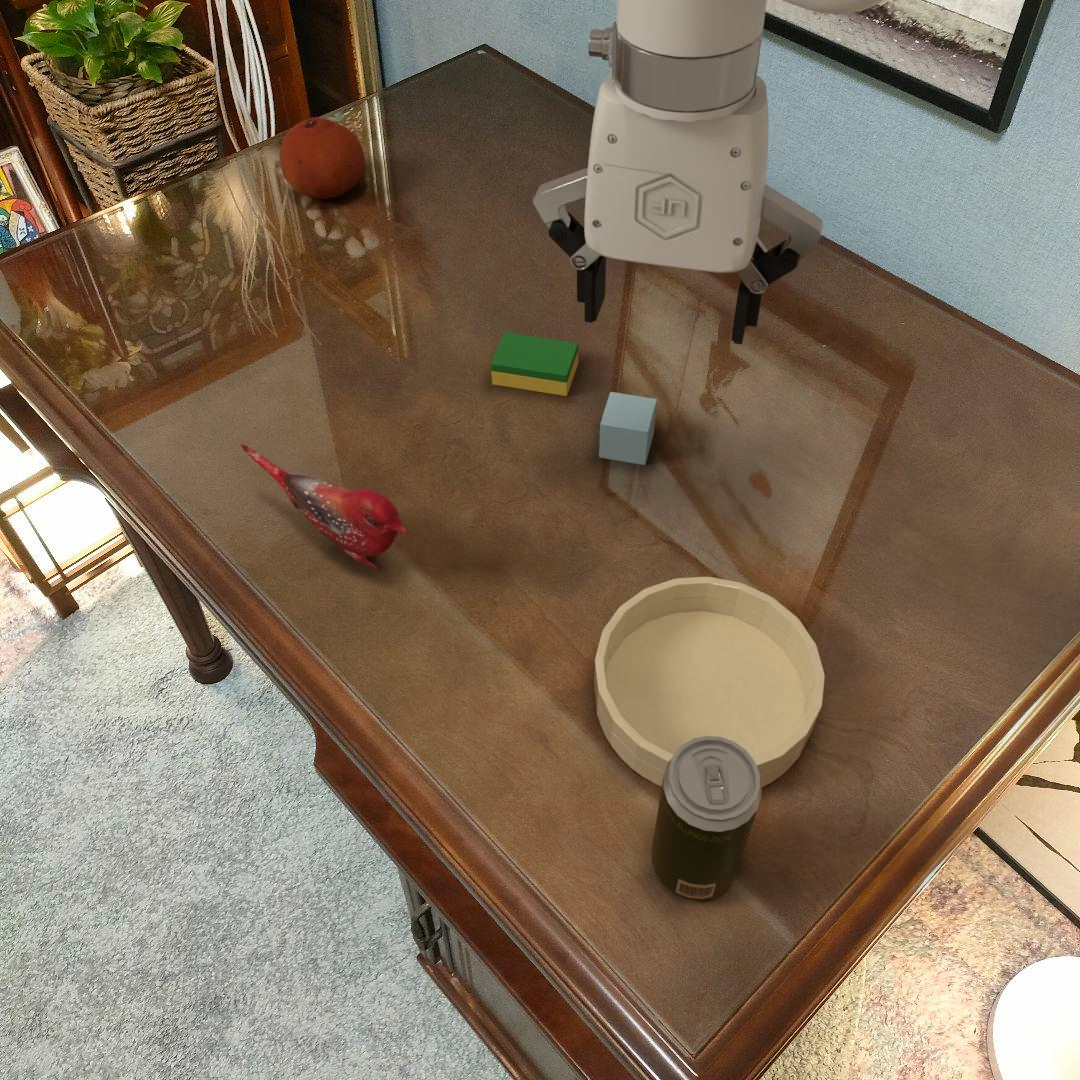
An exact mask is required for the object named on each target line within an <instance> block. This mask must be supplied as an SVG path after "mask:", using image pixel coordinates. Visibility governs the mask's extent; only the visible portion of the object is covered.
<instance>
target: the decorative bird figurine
mask: <svg viewBox="0 0 1080 1080" xmlns="http://www.w3.org/2000/svg"><path fill="white" fill-rule="evenodd" d="M240 447H241V448H242V450H243V451H244V452H245V453H246V454H247V455H248V456H249V457H251V459H252V460H254V461H255V463H256V464H258V465H259V467H261V468H262V469H263V470H264V471H265V472H266V473H268V474H269V475H270V476H271V477H272V478H273V479H274V480H275V481H276V482H277V483H278V484H279V486H280V487H281V488H282V489H283V491H284V493H285V494H286V495H287V497H288V499H289V500H290V502H291V503H292V505H293V506H294V508H295V509H296V510H297V511H298V512H299V513H300V514H301V515H302V516H304V518H305V519H306V520H307V521H308V522H309V523H310V524H311V525H312V526H313V527H314V528H315V529H316V530H317V531H318V532H319V533H320V534H321V535H322V536H323V537H324V538H326V539H327V540H328V541H330V542H332V543H333V544H335V545H336V546H338V548H340V549H341V550H343V552H345V553H346V555H349V556H350V557H352V558H353V559H354V560H356V561H357V562H359V563H361V564H365V565H368V566H369V567H371V568H374V569H376V570H377V571H381V569H380V568H379V567H378V566H377V565H375V564H374V563H372V562H371V561H369V560H368V558H367V557H374V556H375V557H376V556H379V555H381V554H384V553H385V552H386V551H387V550H389V549H390V548H391V547H392V545H393V544H394V541H395V539H396V538H397V535H398V533H402V534H406V535H408V532H407V530H406V528H405V526H404V524H403V522H402V521H401V518H400V514H399V512H398V509H397V507H395V505H394V503H393V502H392V501H391V500H390V499H389V498H388V497H387V496H385V495H384V494H382V493H381V492H378V491H375V490H372V489H367V488H363V489H362V488H360V489H357V490H352V489H348V488H345V487H342V486H340V485H337V484H335V483H332V482H329V481H326V480H323V479H319V478H316V477H310V476H307V475H301V474H292V473H288V472H286V471H285V470H284V469H282V468H280V466H279V467H278V466H277V465H276V464H275V463H273V462H272V461H271V460H268V458H266V457H264V456H263V455H261V454H260V453H259V452H257V451H255V450H254V449H253V448H251V447H250V446H247V445H245V444H240Z"/></svg>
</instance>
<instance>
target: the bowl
mask: <svg viewBox="0 0 1080 1080" xmlns="http://www.w3.org/2000/svg"><path fill="white" fill-rule="evenodd" d="M593 673H594V674H593V675H594V676H593V690H594V702H595V711H596V715H597V718H598V721H599V725H600V727H601V730H602V732H603V734H604V736H605V737H606V738H605V739H606V740H607V741H608V743H609V745H610V746H611V748H612V749H613V750H614V752H615V753H616V754H617V755H618V757H619V758H620V759H621V760H622V761H623V762H624V764H626V765H627V766H628V767H629V768H631V770H633V771H634V772H636V773H637V774H639V775H640V776H641V777H643V778H644V779H646V780H647V781H649V782H651V783H653V784H654V785H656V786H659V787H661V788H662V781H663V775H664V772H665V769H666V767H667V764H668V762H669V760H670V759H671V758H672V757H673V756H674V754H675V753H676V752H677V751H678V749H679V748H680V747H681V746H682V745H683V744H685V743H687V742H689V741H690V740H692V739H694V738H699V737H704V736H716V737H723V738H725V739H728V740H731V741H734V742H735V743H737V744H738V745H740V746H741V747H742V748H744V749H745V750H746V751H747V752H748V753H749V754H750V756H751V757H752V758H753V760H754V761H755V763H756V766H757V768H758V771H759V773H760V780H761V789H762V788H763V787H765V786H767V785H770V784H771V783H773V782H774V781H776V780H778V779H779V778H780V777H781V776H783V775H784V774H785V773H787V771H788V770H789V769H790V768H791V767H792V766H793V765H794V764H795V762H797V760H798V759H799V758H800V756H801V754H802V753H803V751H804V749H805V747H806V745H807V743H808V740H809V739H810V737H811V735H812V733H813V730H814V727H815V725H816V723H817V720H818V718H819V716H820V712H821V710H822V707H823V701H824V690H825V680H826V678H825V677H826V675H825V671H824V667H823V663H822V660H821V657H820V652H819V650H818V646H817V643H816V642H815V641H814V639H813V638H812V637H811V635H810V633H809V632H808V630H807V629H806V628H805V626H804V624H803V623H802V622H801V620H800V618H798V616H796V615H795V614H794V613H793V612H792V611H790V610H789V609H787V608H786V607H785V606H784V605H783V604H781V603H780V601H778V600H777V599H776V598H774V597H773V596H772V595H769V594H767V593H765V592H762V591H761V590H758V589H757V588H754V587H752V586H750V585H748V584H745V583H744V582H740V581H734V580H729V579H723V578H719V577H713V576H693V577H692V576H691V577H678V578H672V579H670V580H666V581H664V582H660V583H658V584H654V585H652V586H649V587H646V588H644V589H642V590H641V591H639V592H638V593H636V594H635V595H634V596H633V597H631V598H629V600H627V601H626V602H624V603H623V604H622V605H620V606H618V607H617V610H616V611H615V613H614V614H613V615H612V617H610V619H609V620H608V622H607V624H605V627H604V628H603V629H602V631H601V635H600V639H599V642H598V646H597V650H596V654H595V657H594V672H593Z"/></svg>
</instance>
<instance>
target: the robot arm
mask: <svg viewBox="0 0 1080 1080" xmlns="http://www.w3.org/2000/svg"><path fill="white" fill-rule="evenodd" d="M782 1H783V2H785V3H788V4H791V5H792V6H795V7H798V8H801V9H804V10H807V11H811V12H816V13H820V14H827V15H848V14H853V13H857V12H862V11H865V10H868V9H870V8H872V7H874V6H876V5H878V4H880V3H882V2H884V0H782ZM767 3H768V0H616V15H615V17H616V20H615V21H613V24H612V26H611V27H610V26H609V27H608V26H606V27H605V28H604V29H601V28H599V29H598V28H592V29H591V30H590V33H589V38H588V56H589V57H595V58H601V59H602V61H607V62H608V66H609V68H611V71H610V72H608V74H607V75H606V77H605V79H604V80H603V81H602V83H600V86H599V90H598V94H597V98H596V103H595V108H594V113H593V119H592V125H591V134H590V142H589V149H588V150H589V151H588V162H587V167H584V168H583V169H580V170H576V171H574V172H571V173H569V174H566V175H564V176H561V177H558V178H556V179H552V180H550V181H547V182H545V183H542V184H540V185H539V186H538V187H537V189H536V191H535V194H533V195H534V196H533V197H532V205H533V206H534V208H535V210H536V212H537V213H538V216H539V217H540V219H541V220H542V223H543V224H544V225H545V226H546V227H547V229H548V231H547V232H548V236H549V238H550V239H551V240H552V241H553V242H554V243H555V244H556V245H557V246H558V247H559V248H560V249H561V250H562V251H563V252H564V253H565V254H566V255H567V256H568V257H569V258H570V259H569V263H570V266H571V267H572V268H573V269H575V270H576V302H578V303H584V322H585V323H590V324H593V323H594V322H597V319H598V317H599V315H600V311H601V309H602V306H603V304H604V301H605V299H606V286H607V285H606V280H607V279H606V277H607V259H612V260H617V261H624V262H631V263H637V264H645V265H653V266H660V267H666V268H667V267H668V268H674V269H681V270H689V271H698V272H706V273H707V272H708V273H717V274H731V273H735V274H736V275H737V277H738V278H739V279H740V283H739V287H738V291H737V297H736V303H735V310H734V317H733V324H732V332H731V338H730V341H732V342H733V344H736V345H743V341H744V337H745V332H746V328H747V327H752V328H753V327H754V328H757V326H758V322H759V316H760V311H761V304H762V299H763V294H764V293H765V292H766V291H767V290H768V287H769V285H771V284H772V283H775V282H776V281H778V280H780V278H783V277H784V276H786V275H788V274H789V273H791V272H793V271H794V270H795V269H797V268H798V264H799V263H800V261H801V260H802V259H803V258H805V257H806V255H808V253H809V252H810V251H811V250H812V249H813V248H814V247H815V245H816V244H817V243H818V242H819V241H820V239H821V238H822V233H823V225H824V221H823V219H822V218H821V217H819V216H818V215H817V214H815V213H813V212H811V211H809V210H808V209H806V208H805V207H803V206H802V205H800V204H798V203H797V202H795V201H794V200H792V199H791V198H789V197H788V196H785V195H784V194H782V193H781V192H779V191H778V190H776V189H774V188H773V187H771V186H769V184H766V183H767V170H768V158H769V157H768V156H769V127H770V126H769V123H770V122H769V101H768V91H767V85H766V82H765V80H763V78H762V77H761V76H759V75H758V69H759V63H760V55H761V48H762V47H761V46H762V41H763V31H764V25H765V18H766V10H767ZM584 199H585V200H584ZM580 200H584V201H585V202H584V203H585V205H584V217H583V218H584V220H583V221H584V222H583V223H584V224H583V225H584V226H583V225H582V224H581V223H580V222H579V221H578V220H577V219H576V218H575V217H574V216H573V214H572V213H570V212H569V211H568V210H567V207H566V206H567V205H568V204H572V203H574V202H578V201H580ZM762 219H763V220H765V221H766V222H768V223H770V224H772V225H773V226H775V227H776V228H778V229H780V230H781V231H783V232H784V233H786V234H788V237H787V238H786V239H784V240H783V241H781V242H779V243H778V244H776V245H775V246H773V247H772V248H770V249H769V250H768V249H767V247H766V246H765V245H764V243H763V242H762V241H761V239H760V238H759V231H760V225H761V221H762Z"/></svg>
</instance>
